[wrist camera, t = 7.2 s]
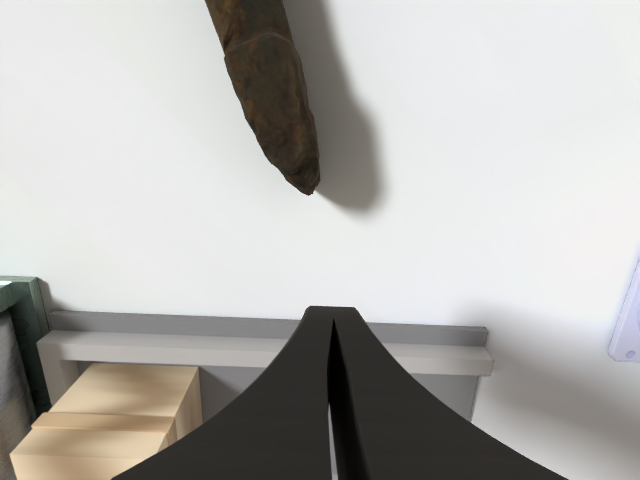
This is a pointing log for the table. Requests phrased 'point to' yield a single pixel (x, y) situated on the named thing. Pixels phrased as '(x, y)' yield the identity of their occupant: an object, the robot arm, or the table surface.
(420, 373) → the crate bay
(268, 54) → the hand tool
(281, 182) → the table surface
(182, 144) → the table surface
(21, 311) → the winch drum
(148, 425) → the block
